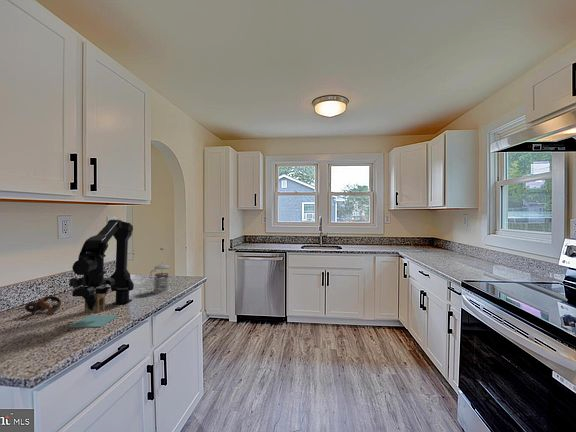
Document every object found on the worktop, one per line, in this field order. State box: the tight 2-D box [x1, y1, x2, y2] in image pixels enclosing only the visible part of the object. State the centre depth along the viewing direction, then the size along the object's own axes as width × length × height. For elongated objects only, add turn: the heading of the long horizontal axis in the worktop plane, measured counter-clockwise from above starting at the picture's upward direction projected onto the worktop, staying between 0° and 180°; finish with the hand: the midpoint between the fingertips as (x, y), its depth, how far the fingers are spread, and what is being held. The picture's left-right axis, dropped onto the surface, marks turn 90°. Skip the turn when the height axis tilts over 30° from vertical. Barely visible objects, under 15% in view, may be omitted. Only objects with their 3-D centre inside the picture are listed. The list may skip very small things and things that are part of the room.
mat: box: [69, 314, 119, 328], centre depth 117 cm, size 12×12×1 cm
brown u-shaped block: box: [84, 293, 106, 314], centre depth 117 cm, size 5×5×7 cm
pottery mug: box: [24, 295, 62, 316], centre depth 125 cm, size 12×10×8 cm
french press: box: [148, 247, 171, 294], centre depth 163 cm, size 10×12×25 cm
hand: (95, 307), depth 117 cm, fingers closed on brown u-shaped block, 5 cm apart
